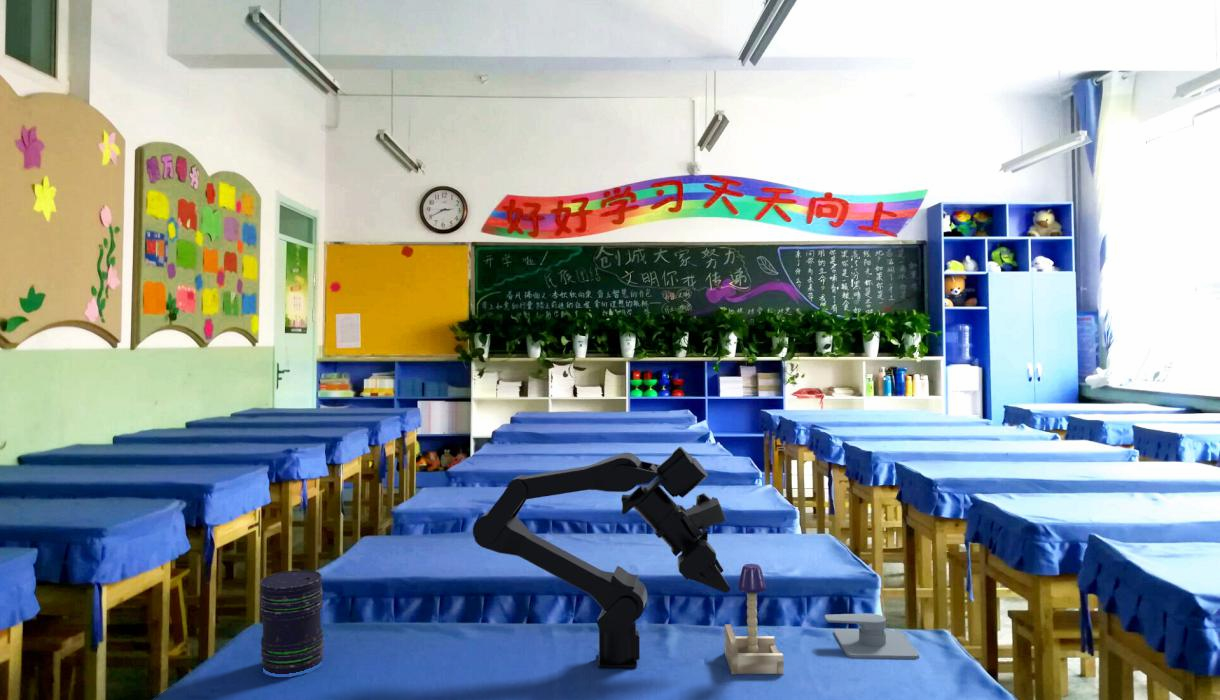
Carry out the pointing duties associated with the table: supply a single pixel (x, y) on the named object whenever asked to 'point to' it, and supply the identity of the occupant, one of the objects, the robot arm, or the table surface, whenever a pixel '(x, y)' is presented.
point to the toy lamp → (752, 600)
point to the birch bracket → (752, 655)
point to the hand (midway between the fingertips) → (724, 581)
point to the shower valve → (871, 638)
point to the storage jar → (291, 621)
